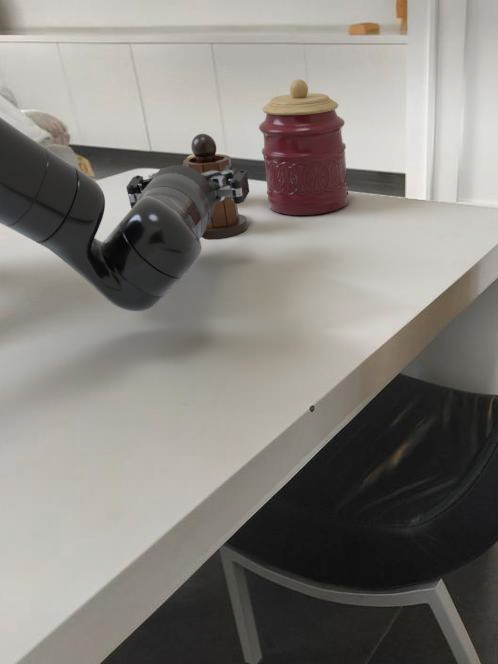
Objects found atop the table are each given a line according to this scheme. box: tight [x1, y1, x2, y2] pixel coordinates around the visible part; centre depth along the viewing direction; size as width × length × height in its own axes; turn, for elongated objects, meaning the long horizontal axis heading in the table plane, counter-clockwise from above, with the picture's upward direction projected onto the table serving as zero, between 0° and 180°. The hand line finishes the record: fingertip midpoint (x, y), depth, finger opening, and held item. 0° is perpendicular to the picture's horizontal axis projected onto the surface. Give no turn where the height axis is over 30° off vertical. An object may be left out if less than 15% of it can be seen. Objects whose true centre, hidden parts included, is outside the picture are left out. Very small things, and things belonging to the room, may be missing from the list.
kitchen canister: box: [258, 78, 349, 216], centre depth 105 cm, size 13×13×18 cm
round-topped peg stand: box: [191, 133, 249, 240], centre depth 98 cm, size 9×9×13 cm
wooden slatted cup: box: [182, 153, 240, 228], centre depth 98 cm, size 6×7×8 cm
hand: (197, 175), depth 90 cm, fingers open, 8 cm apart
